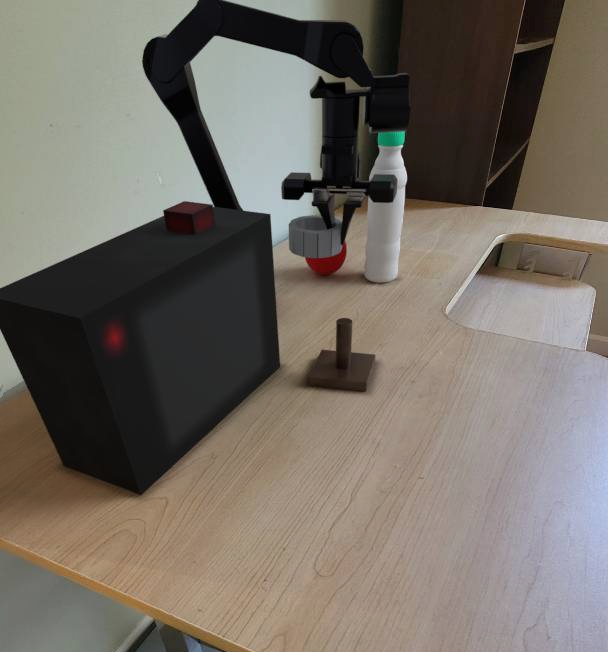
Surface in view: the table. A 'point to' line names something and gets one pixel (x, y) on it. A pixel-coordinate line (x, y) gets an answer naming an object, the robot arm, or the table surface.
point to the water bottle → (386, 213)
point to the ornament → (328, 262)
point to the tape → (314, 237)
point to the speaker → (147, 339)
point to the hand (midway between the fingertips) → (338, 244)
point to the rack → (342, 363)
